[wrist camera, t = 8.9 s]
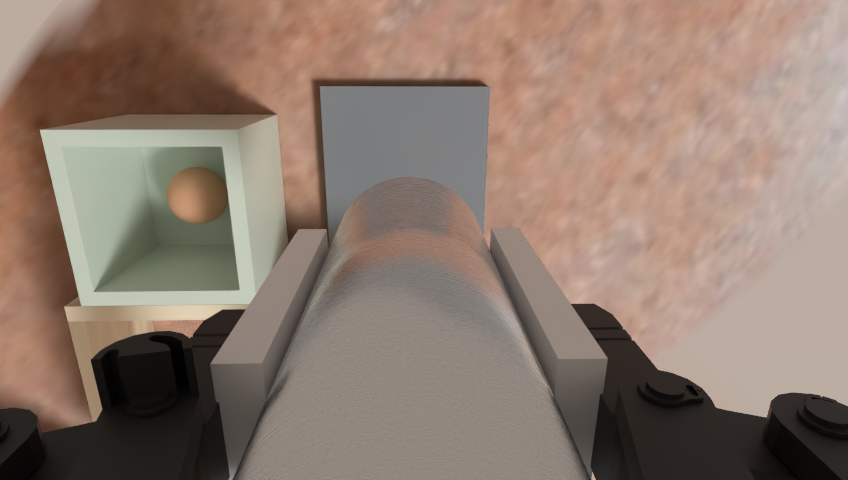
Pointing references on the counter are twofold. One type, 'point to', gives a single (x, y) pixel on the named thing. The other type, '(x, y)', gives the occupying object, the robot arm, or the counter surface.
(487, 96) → the coaster
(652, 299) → the counter surface
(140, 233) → the square storage bin
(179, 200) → the fully visible ball
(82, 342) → the crate
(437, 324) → the tin can
